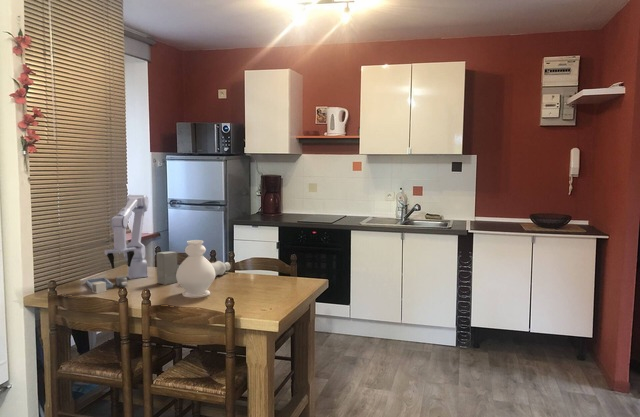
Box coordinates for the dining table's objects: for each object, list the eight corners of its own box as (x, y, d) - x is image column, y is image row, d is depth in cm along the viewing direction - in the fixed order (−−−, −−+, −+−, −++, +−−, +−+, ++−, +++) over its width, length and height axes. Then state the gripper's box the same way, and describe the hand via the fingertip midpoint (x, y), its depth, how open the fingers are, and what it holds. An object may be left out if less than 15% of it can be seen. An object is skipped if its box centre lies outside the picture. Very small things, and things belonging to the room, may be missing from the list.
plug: (114, 283, 260) (114, 275, 260) (123, 282, 262) (122, 274, 262) (120, 288, 250) (120, 280, 250) (129, 287, 252) (129, 279, 252)
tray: (85, 283, 260) (85, 279, 260) (105, 280, 265) (104, 277, 265) (92, 290, 246) (92, 286, 246) (113, 287, 251) (113, 284, 251)
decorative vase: (197, 301, 228) (196, 245, 226) (168, 295, 237) (166, 242, 235) (223, 292, 244) (222, 240, 241) (195, 287, 253) (194, 237, 250)
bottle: (199, 279, 256) (236, 269, 282) (192, 263, 258) (229, 255, 284) (188, 287, 260) (225, 277, 286) (180, 271, 261) (218, 262, 288)
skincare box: (164, 285, 256) (163, 254, 255) (156, 283, 261) (155, 252, 259) (178, 282, 263) (178, 251, 262) (170, 280, 267) (169, 250, 266)
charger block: (101, 290, 247) (101, 280, 247) (106, 291, 245) (105, 282, 244) (92, 292, 244) (91, 282, 243) (96, 293, 241) (96, 284, 241)
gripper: (106, 242, 247) (107, 270, 249) (137, 240, 255) (138, 266, 257) (103, 240, 253) (104, 267, 254) (133, 238, 261) (134, 264, 263)
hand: (121, 267), depth 256 cm, fingers open, 7 cm apart
